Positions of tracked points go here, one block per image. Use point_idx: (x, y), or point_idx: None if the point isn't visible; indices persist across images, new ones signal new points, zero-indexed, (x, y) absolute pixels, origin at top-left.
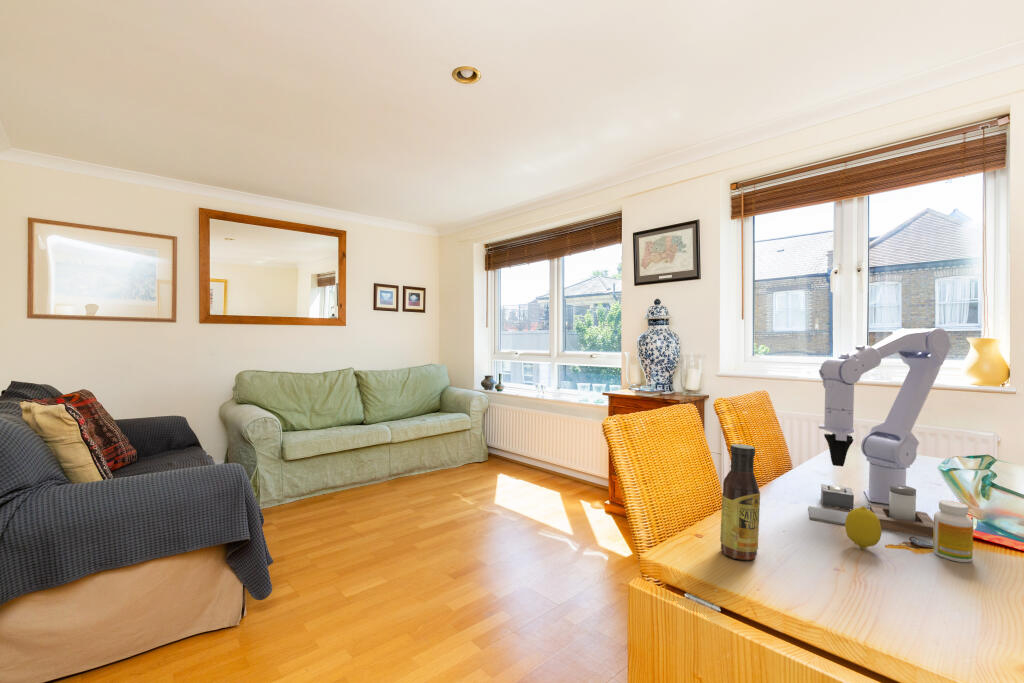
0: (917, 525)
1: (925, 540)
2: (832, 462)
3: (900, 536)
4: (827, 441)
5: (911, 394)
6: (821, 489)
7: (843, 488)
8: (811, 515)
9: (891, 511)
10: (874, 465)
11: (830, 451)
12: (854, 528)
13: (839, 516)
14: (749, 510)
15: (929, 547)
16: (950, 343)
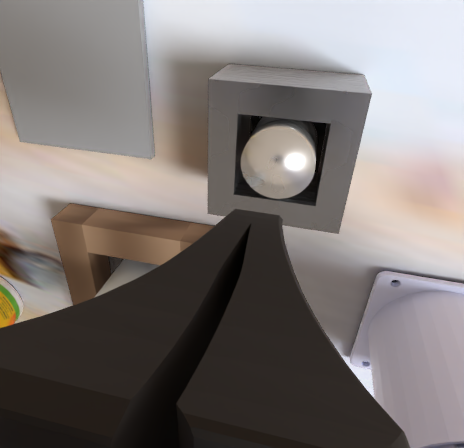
0: (73, 300)
1: (59, 284)
2: (227, 217)
3: (44, 241)
4: (9, 325)
5: None
6: (352, 85)
7: (283, 195)
8: None
9: (113, 279)
10: (444, 439)
11: (164, 263)
12: None
13: (74, 107)
14: None
15: (14, 273)
16: None
